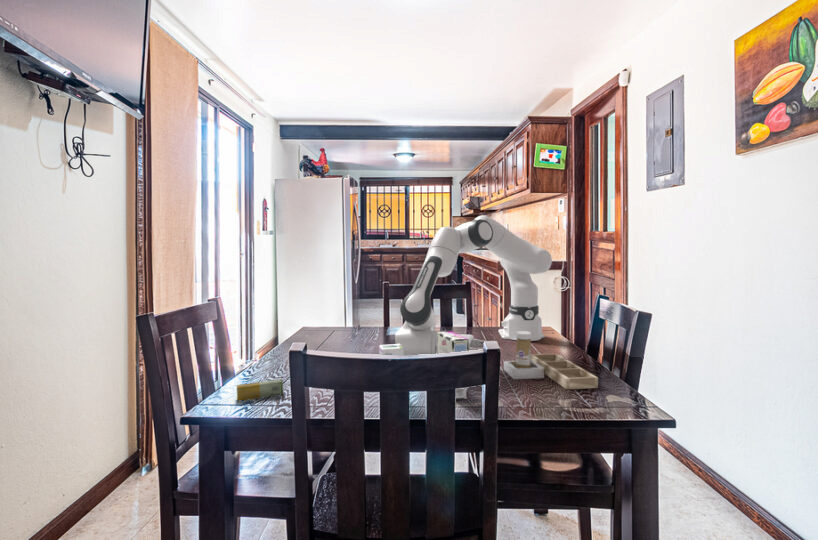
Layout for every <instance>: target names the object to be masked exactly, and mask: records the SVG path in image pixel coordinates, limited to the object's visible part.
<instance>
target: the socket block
mask: <svg viewBox="0 0 818 540" xmlns="http://www.w3.org/2000/svg"><path fill="white" fill-rule="evenodd" d="M504 370H505V371H506V372H505V371H504ZM503 371H504V372H505V373H506V374H507V375H509V376H510V377H511V378H512V379H513V380H528V379H545V374H544V368H543V367H541V366H540V365H538V364H537V363H536V362H534V361H533V360H530V368H516V360H503Z"/></svg>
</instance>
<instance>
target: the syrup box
mask: <svg viewBox="0 0 818 540" xmlns="http://www.w3.org/2000/svg"><path fill="white" fill-rule="evenodd" d="M378 352H379V355H404V350H403V347H402V345H401V344H395V343H393V344H391V343H390V344H380V345H379V348H378ZM404 356H405V355H404Z"/></svg>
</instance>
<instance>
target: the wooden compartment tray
mask: <svg viewBox="0 0 818 540" xmlns="http://www.w3.org/2000/svg"><path fill="white" fill-rule="evenodd" d="M530 360H533V361H534V362H536V363H537V364H538V365H540V366H541V367H543V368H544V375H545V376H547V377H549V378H550V379H551V380H553V381H554V382H555V383H557V384H558V385H559V386H561V387H563V388H564V389H566V390H583V389H598V388H599V377H598V376H596V375H594V374H593V373H591V372H589V371H588V370H587V369H586V370H585V369H584V368H582V367H580V366H579V365H577V364H575V363H574V362H572V361H571V360H568V359H567V358H565V357H563V356H561V355H560V354H558V353H535V354H531V359H530Z"/></svg>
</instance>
